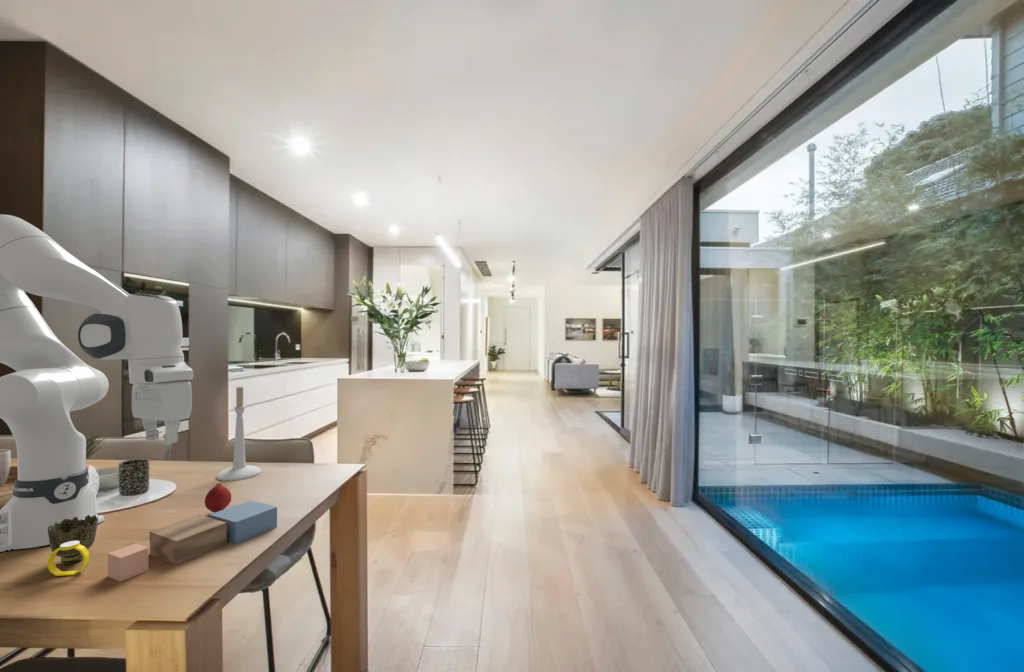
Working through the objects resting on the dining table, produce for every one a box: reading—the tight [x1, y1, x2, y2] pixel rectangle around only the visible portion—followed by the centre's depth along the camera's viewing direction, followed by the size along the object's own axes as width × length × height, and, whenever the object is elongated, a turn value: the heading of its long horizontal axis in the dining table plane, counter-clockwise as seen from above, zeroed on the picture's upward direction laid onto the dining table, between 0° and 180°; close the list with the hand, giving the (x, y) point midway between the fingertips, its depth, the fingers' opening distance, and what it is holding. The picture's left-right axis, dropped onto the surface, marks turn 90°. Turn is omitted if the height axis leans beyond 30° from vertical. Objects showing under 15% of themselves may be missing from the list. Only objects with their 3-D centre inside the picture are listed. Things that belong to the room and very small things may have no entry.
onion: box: [204, 481, 232, 513], centre depth 115 cm, size 6×6×8 cm
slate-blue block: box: [208, 500, 278, 544], centre depth 105 cm, size 10×10×5 cm
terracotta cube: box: [107, 543, 149, 582], centre depth 86 cm, size 4×4×4 cm
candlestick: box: [216, 386, 262, 482], centre depth 148 cm, size 13×13×30 cm
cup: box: [48, 515, 99, 565], centre depth 91 cm, size 8×7×8 cm
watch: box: [46, 541, 90, 577], centre depth 85 cm, size 6×3×6 cm, turn 105°
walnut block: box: [149, 514, 228, 565], centre depth 96 cm, size 10×10×5 cm
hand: (161, 441), depth 89 cm, fingers open, 8 cm apart
